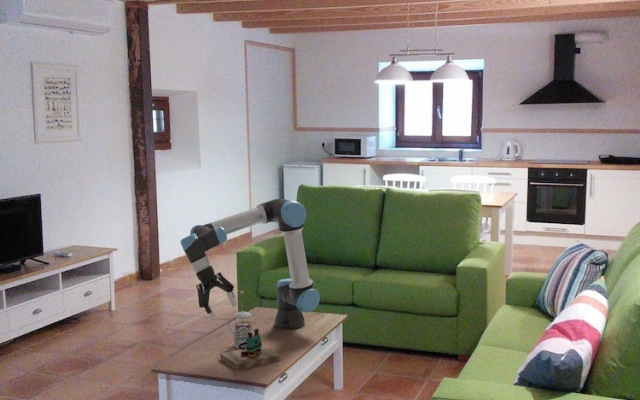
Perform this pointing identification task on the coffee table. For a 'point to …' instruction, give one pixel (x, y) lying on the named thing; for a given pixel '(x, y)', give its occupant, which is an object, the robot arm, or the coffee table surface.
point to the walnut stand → (249, 358)
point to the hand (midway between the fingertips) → (225, 312)
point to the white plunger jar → (238, 325)
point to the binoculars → (252, 344)
